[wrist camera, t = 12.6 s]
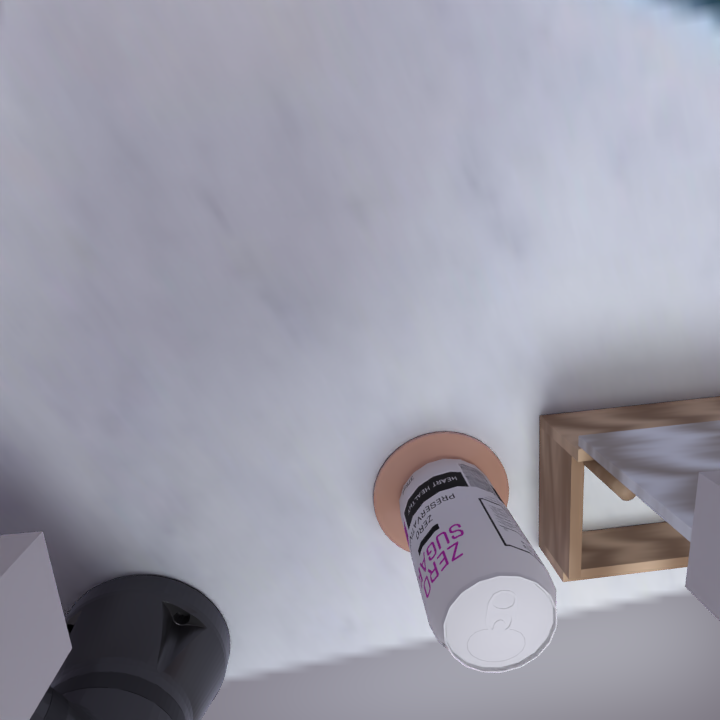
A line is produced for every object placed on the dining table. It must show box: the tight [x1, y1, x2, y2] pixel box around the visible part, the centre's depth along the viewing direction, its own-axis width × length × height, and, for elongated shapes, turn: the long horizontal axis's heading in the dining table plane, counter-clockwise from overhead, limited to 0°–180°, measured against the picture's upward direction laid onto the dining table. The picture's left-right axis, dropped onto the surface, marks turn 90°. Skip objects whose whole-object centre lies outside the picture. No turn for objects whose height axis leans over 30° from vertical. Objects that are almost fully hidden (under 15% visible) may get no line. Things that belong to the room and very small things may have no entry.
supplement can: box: [399, 459, 557, 673], centre depth 38 cm, size 8×8×15 cm
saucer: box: [373, 432, 509, 552], centre depth 46 cm, size 12×12×1 cm
